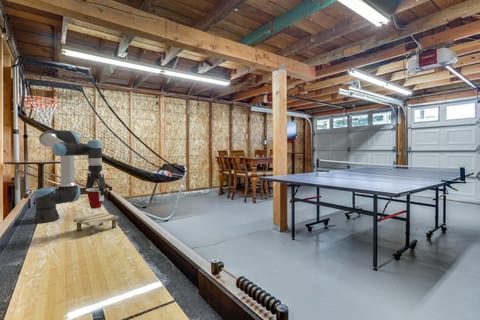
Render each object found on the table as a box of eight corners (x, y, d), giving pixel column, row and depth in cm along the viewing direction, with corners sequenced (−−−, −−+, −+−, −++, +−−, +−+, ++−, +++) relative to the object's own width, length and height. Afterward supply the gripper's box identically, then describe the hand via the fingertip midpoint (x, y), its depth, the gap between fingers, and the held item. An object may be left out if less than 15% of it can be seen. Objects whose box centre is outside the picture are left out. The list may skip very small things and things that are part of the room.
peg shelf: (74, 231, 155) (73, 219, 155) (102, 223, 171) (102, 212, 171) (90, 236, 146) (90, 223, 146) (118, 227, 162) (118, 216, 162)
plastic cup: (99, 209, 152) (99, 190, 152) (82, 209, 153) (81, 190, 152) (109, 205, 163) (108, 187, 163) (93, 205, 164) (92, 187, 163)
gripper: (78, 164, 159) (79, 199, 160) (100, 165, 148) (101, 202, 149) (90, 164, 166) (91, 197, 167) (112, 165, 154) (113, 200, 155)
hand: (96, 199), depth 158 cm, fingers closed on plastic cup, 11 cm apart
